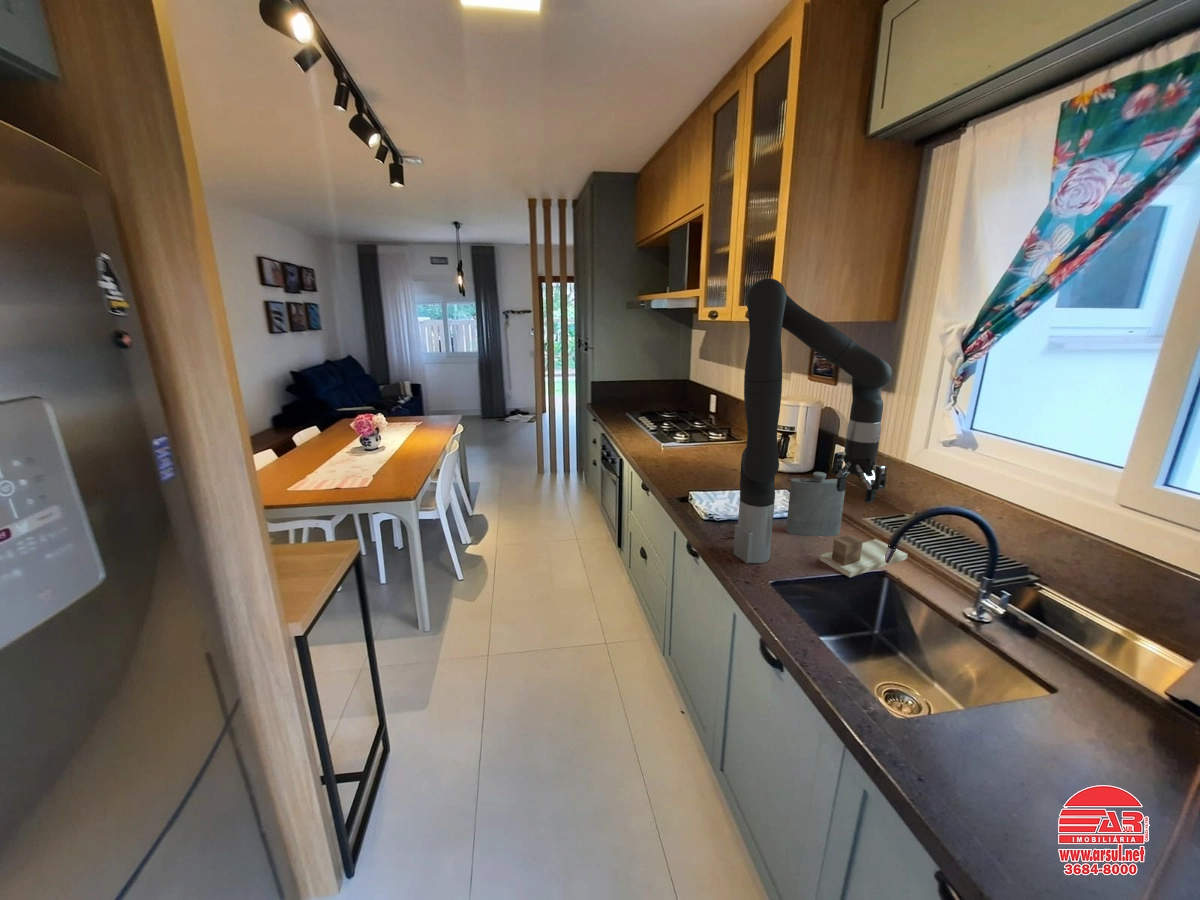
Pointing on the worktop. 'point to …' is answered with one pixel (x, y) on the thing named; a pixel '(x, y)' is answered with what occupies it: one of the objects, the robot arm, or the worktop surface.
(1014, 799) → the worktop surface
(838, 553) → the block
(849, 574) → the birch board
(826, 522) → the hip flask
